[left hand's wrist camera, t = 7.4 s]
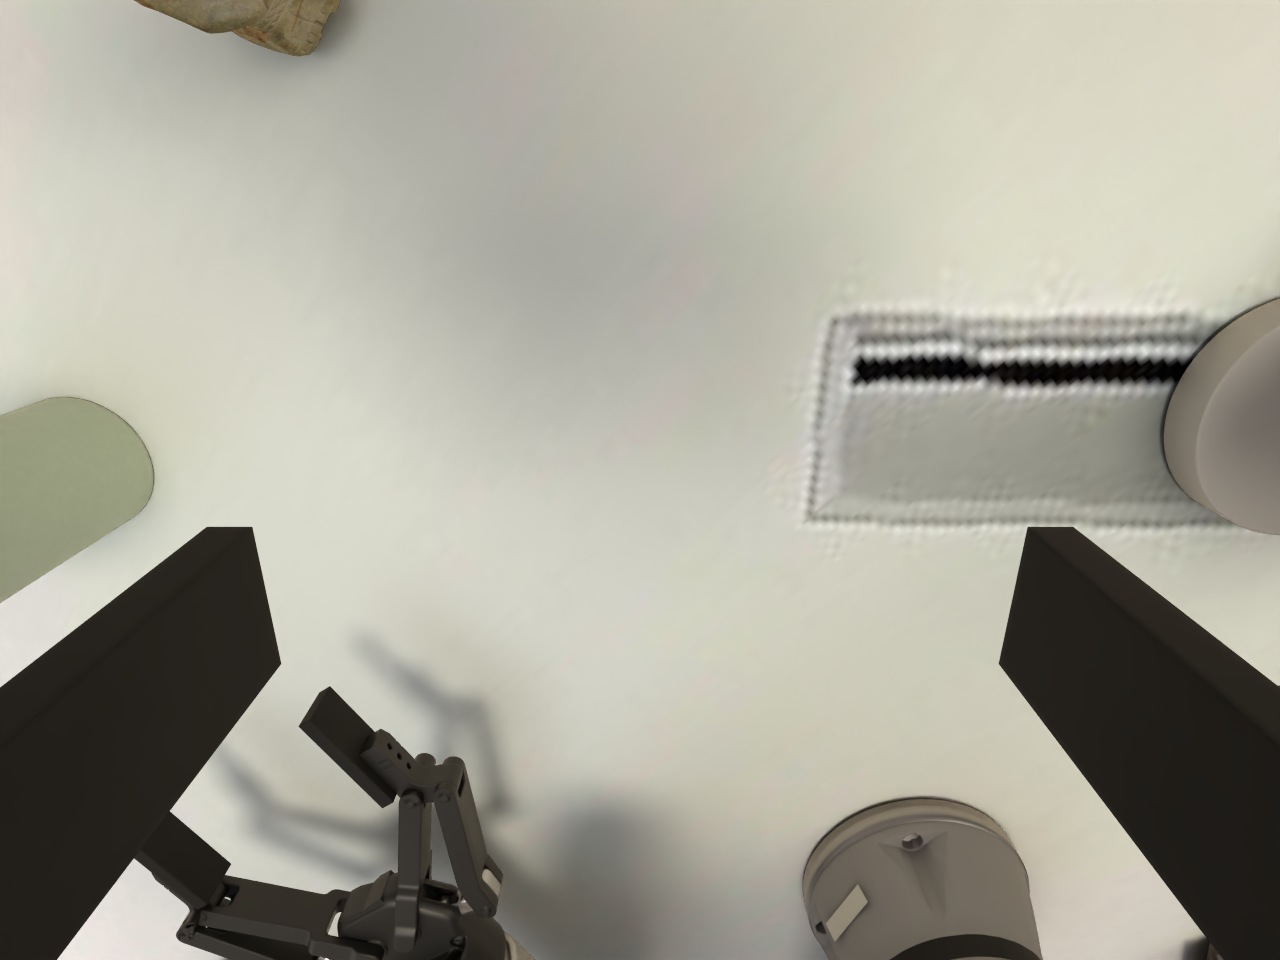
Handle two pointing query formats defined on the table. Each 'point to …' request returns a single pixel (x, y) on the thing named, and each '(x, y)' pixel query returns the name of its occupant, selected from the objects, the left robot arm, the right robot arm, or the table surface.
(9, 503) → the bottle
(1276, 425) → the bust sculpture
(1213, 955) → the toy
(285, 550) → the table surface
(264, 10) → the sculpture
